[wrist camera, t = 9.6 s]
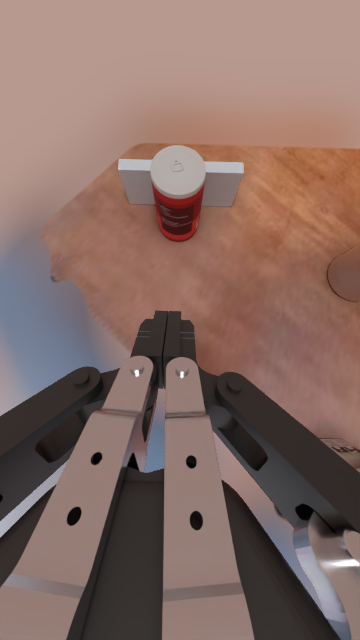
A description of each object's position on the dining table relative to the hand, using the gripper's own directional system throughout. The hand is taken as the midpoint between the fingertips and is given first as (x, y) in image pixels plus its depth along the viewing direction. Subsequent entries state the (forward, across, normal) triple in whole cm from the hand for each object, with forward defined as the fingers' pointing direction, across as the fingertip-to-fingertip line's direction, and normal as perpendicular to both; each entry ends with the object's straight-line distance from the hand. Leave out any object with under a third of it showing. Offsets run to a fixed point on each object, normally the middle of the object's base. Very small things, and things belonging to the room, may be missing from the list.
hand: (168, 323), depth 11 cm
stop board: (+36, 0, -6) cm, 37 cm away
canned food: (+31, 0, -1) cm, 31 cm away
